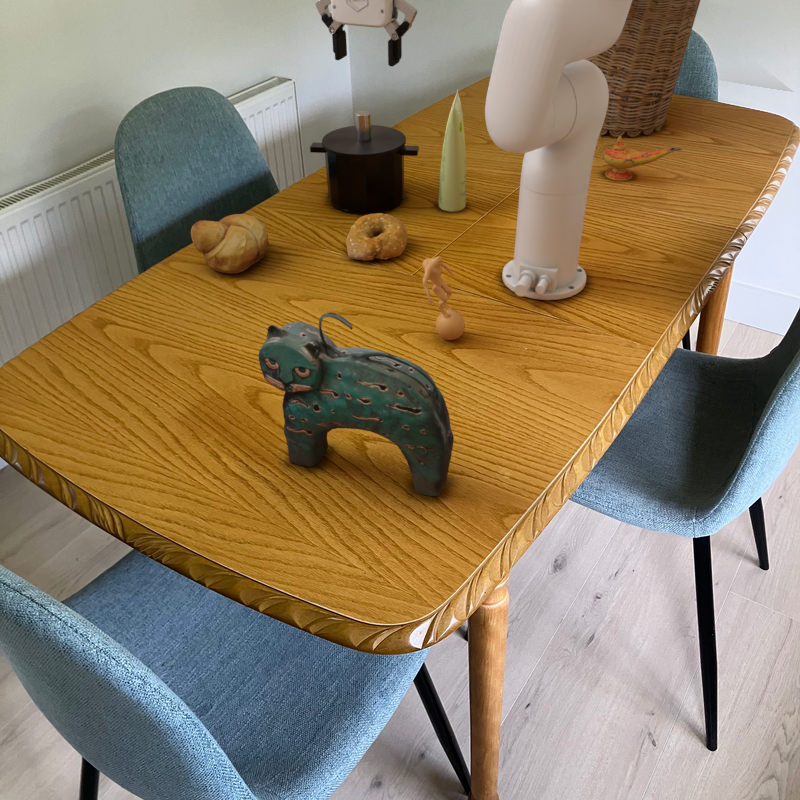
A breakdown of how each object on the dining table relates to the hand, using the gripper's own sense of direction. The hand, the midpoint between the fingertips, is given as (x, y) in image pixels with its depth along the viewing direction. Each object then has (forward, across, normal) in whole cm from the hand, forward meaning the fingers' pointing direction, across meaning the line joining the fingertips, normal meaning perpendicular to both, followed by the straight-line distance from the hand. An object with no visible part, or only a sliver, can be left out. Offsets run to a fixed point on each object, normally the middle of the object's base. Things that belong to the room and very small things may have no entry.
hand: (367, 61), depth 127 cm
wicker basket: (+24, +34, +58) cm, 71 cm away
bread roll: (+24, -10, -30) cm, 39 cm away
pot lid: (+14, -1, 0) cm, 14 cm away
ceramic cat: (+24, +30, -66) cm, 76 cm away
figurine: (+24, +28, -38) cm, 53 cm away
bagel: (+24, +9, -18) cm, 32 cm away
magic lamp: (+24, +42, +27) cm, 55 cm away
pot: (+24, -1, 0) cm, 24 cm away
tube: (+24, +15, +2) cm, 28 cm away
